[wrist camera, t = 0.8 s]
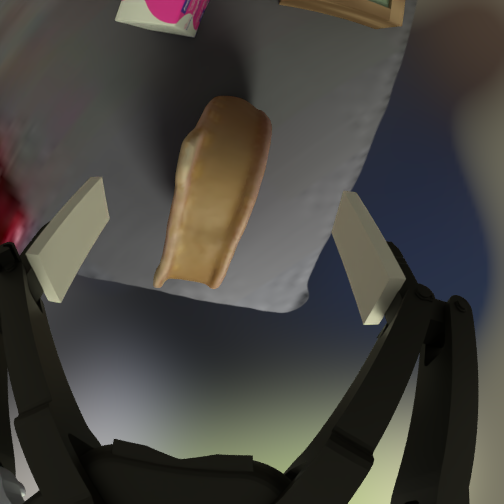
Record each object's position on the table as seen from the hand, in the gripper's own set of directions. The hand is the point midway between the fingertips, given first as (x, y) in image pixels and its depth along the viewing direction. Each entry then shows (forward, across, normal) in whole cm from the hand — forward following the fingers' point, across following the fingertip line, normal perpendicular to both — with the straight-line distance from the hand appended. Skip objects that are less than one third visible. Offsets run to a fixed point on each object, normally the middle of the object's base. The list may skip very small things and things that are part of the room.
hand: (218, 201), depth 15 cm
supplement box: (+22, -7, +13) cm, 27 cm away
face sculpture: (+22, -2, -7) cm, 23 cm away
